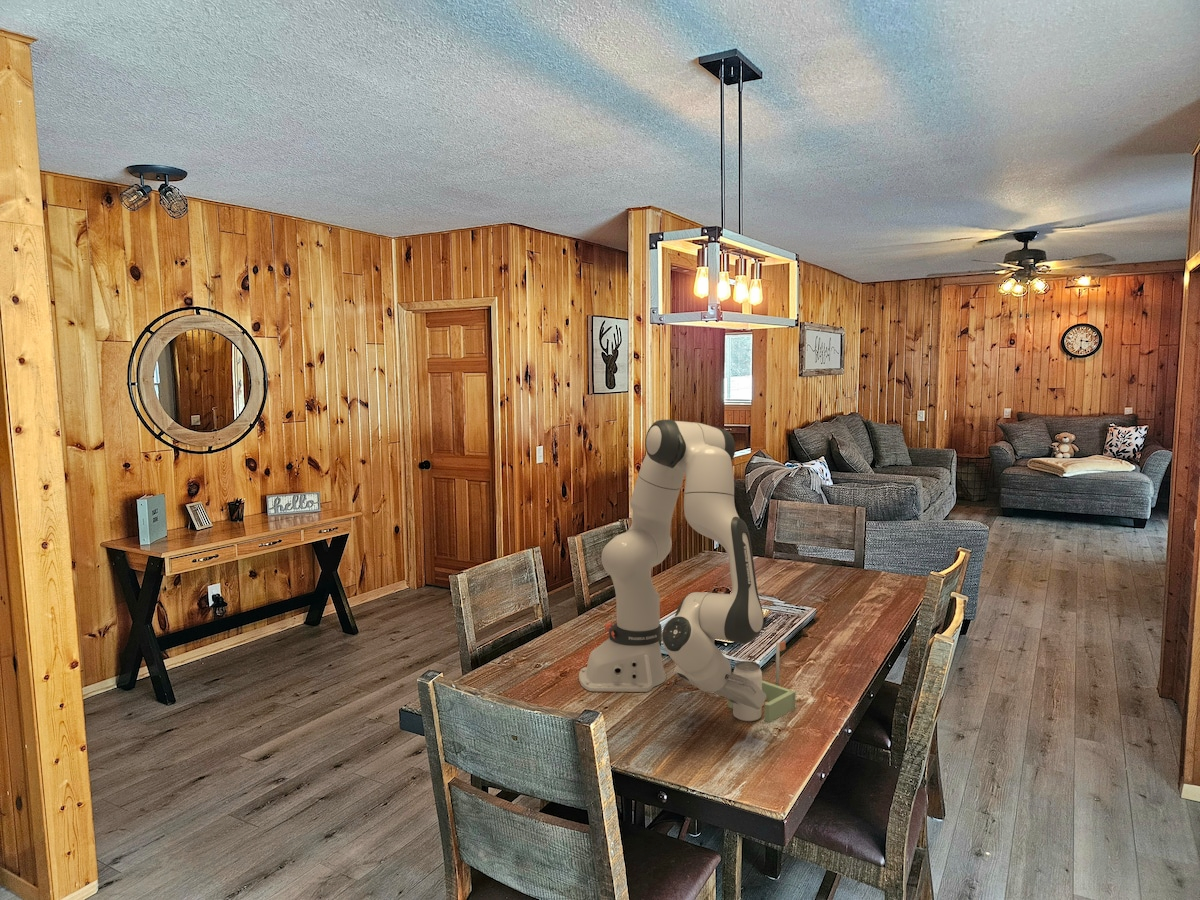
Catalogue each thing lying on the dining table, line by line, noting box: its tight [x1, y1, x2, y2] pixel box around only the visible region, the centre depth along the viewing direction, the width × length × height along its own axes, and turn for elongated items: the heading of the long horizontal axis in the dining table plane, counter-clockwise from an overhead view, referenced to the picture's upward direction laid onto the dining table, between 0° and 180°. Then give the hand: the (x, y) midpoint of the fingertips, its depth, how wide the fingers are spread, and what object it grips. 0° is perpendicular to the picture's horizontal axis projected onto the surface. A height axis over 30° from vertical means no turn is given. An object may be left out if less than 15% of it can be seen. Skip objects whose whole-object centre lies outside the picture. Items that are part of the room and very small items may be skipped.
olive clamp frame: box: [727, 640, 797, 723], centre depth 184 cm, size 15×11×14 cm
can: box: [732, 660, 763, 723], centre depth 179 cm, size 6×6×12 cm
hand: (736, 700), depth 177 cm, fingers closed
